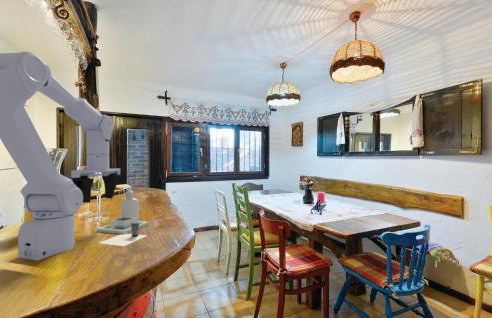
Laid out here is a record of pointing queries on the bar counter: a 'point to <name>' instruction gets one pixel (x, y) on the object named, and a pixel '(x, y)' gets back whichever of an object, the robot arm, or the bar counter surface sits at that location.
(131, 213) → the eye dropper bottle
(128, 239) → the board
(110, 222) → the grey square block
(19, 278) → the bar counter surface
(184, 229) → the bar counter surface
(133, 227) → the stake
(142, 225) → the tray
